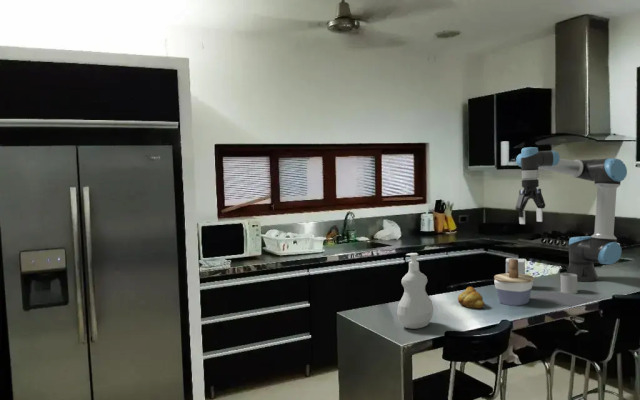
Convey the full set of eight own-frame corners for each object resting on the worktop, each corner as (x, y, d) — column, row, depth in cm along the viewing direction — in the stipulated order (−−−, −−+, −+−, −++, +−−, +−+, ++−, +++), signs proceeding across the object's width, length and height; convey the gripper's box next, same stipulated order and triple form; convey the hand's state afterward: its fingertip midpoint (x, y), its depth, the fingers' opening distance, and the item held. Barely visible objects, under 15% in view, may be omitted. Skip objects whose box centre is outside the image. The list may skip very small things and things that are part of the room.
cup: (557, 293, 238) (557, 274, 238) (568, 289, 244) (568, 271, 244) (572, 295, 232) (572, 277, 232) (583, 292, 238) (583, 273, 238)
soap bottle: (419, 318, 206) (417, 249, 205) (441, 324, 197) (438, 252, 196) (390, 327, 197) (388, 254, 195) (411, 334, 187) (409, 257, 186)
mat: (548, 292, 240) (548, 291, 240) (593, 300, 222) (593, 299, 222) (525, 298, 231) (525, 297, 231) (570, 308, 212) (570, 306, 212)
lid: (509, 273, 236) (509, 255, 236) (541, 279, 222) (541, 259, 221) (486, 278, 227) (485, 259, 226) (518, 284, 213) (517, 264, 212)
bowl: (505, 296, 236) (504, 274, 235) (537, 301, 225) (537, 277, 224) (490, 303, 225) (489, 279, 224) (523, 309, 214) (523, 284, 213)
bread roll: (489, 308, 217) (488, 291, 216) (470, 311, 214) (469, 293, 214) (472, 302, 229) (472, 285, 229) (454, 304, 227) (453, 287, 226)
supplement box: (506, 290, 248) (505, 261, 247) (506, 286, 256) (505, 258, 256) (525, 291, 245) (524, 261, 244) (525, 287, 253) (524, 258, 252)
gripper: (538, 178, 247) (539, 220, 248) (506, 180, 234) (508, 224, 235) (552, 178, 241) (553, 220, 242) (520, 180, 228) (521, 225, 229)
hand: (531, 222), depth 238 cm, fingers open, 13 cm apart
